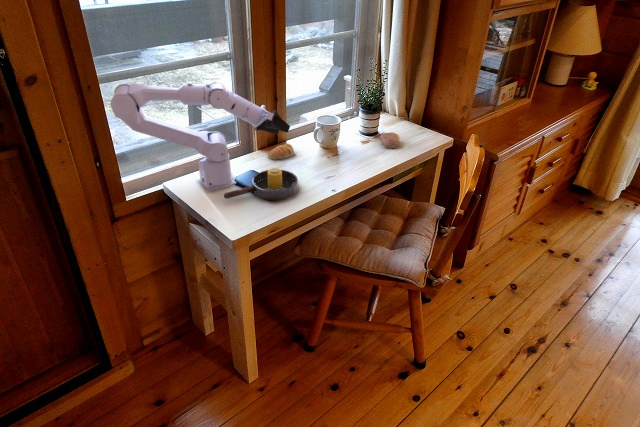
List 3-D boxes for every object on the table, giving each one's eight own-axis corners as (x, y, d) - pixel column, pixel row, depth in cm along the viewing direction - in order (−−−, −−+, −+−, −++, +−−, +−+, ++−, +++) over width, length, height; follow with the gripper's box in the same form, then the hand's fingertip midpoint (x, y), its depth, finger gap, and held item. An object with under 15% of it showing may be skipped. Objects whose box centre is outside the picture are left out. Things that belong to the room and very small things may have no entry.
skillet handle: (225, 200, 139) (224, 195, 138) (222, 197, 140) (222, 192, 139) (258, 191, 144) (258, 186, 143) (256, 188, 145) (255, 183, 144)
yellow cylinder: (272, 193, 145) (271, 174, 142) (265, 187, 148) (264, 168, 145) (284, 190, 147) (284, 171, 144) (278, 183, 150) (277, 165, 147)
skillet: (265, 206, 140) (264, 195, 138) (245, 185, 150) (244, 175, 148) (305, 194, 146) (305, 184, 144) (284, 175, 156) (284, 165, 154)
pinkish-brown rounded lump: (373, 141, 180) (382, 144, 173) (380, 126, 179) (389, 129, 172) (389, 149, 183) (398, 152, 176) (396, 134, 182) (406, 137, 175)
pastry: (274, 163, 163) (274, 153, 161) (263, 156, 168) (263, 146, 165) (296, 156, 168) (296, 146, 166) (285, 149, 173) (285, 140, 170)
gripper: (259, 94, 135) (298, 116, 141) (241, 101, 147) (278, 121, 154) (249, 116, 134) (289, 137, 140) (233, 121, 147) (270, 140, 153)
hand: (283, 130), depth 147 cm, fingers open, 7 cm apart
